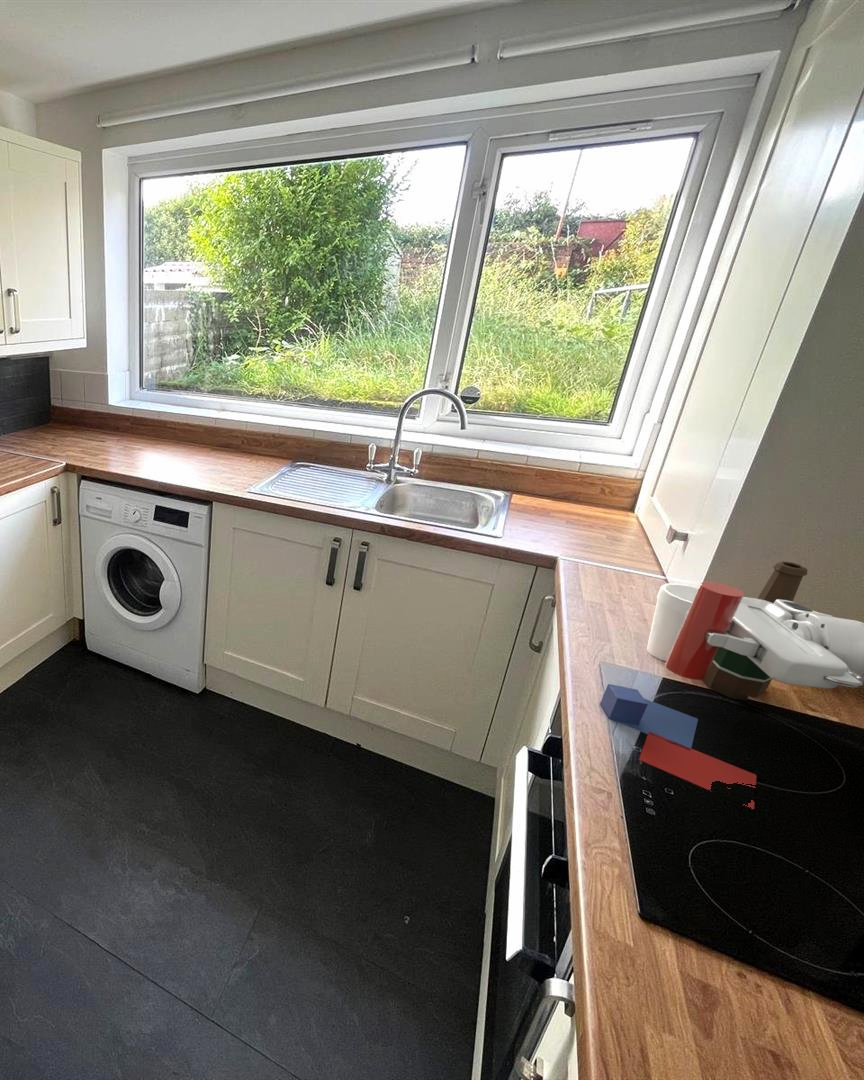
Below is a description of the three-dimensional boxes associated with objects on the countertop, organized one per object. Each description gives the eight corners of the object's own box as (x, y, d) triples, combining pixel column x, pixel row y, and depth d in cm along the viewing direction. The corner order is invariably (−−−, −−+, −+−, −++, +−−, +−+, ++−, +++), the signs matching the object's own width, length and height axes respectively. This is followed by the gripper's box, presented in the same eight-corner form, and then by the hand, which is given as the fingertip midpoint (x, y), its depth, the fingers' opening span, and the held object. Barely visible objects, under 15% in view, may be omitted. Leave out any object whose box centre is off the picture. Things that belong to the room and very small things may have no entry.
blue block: (628, 709, 94) (637, 689, 93) (638, 725, 91) (648, 704, 89) (599, 703, 95) (608, 683, 94) (608, 718, 92) (617, 698, 90)
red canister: (706, 671, 88) (745, 589, 83) (703, 683, 85) (743, 599, 80) (667, 658, 91) (702, 578, 86) (662, 669, 88) (699, 587, 83)
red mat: (755, 777, 82) (756, 775, 81) (752, 812, 76) (754, 809, 76) (647, 733, 90) (648, 731, 89) (638, 761, 84) (638, 759, 84)
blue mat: (697, 720, 93) (698, 718, 93) (689, 753, 86) (690, 751, 85) (620, 691, 99) (621, 689, 99) (607, 719, 92) (608, 717, 92)
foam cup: (624, 645, 113) (649, 586, 108) (657, 639, 116) (682, 580, 111) (678, 673, 105) (707, 610, 100) (712, 665, 108) (742, 604, 103)
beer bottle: (729, 676, 104) (789, 555, 95) (774, 704, 97) (844, 576, 88) (688, 676, 104) (744, 554, 95) (729, 704, 97) (795, 575, 88)
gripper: (861, 709, 73) (726, 684, 78) (764, 630, 91) (658, 614, 96) (887, 667, 71) (746, 644, 75) (782, 595, 89) (673, 579, 93)
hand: (696, 626), depth 86 cm, fingers closed on red canister, 4 cm apart
